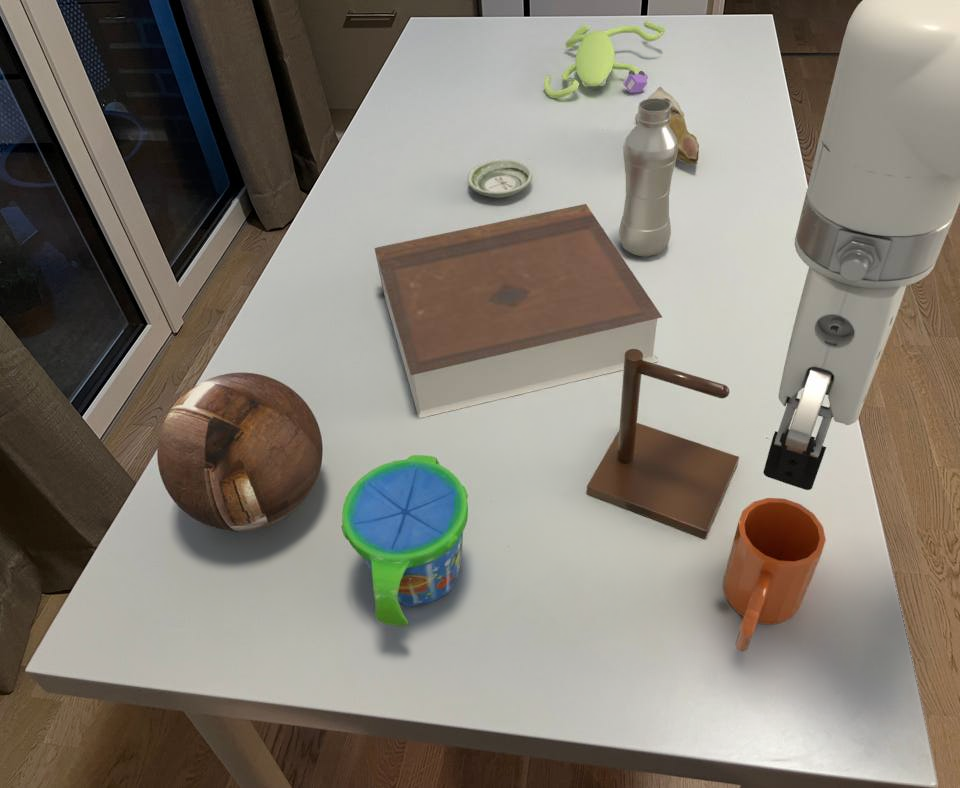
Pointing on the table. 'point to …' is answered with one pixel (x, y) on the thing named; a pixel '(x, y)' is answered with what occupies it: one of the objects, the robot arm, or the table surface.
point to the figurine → (601, 59)
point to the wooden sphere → (239, 451)
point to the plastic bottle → (648, 179)
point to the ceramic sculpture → (679, 129)
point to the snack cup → (407, 532)
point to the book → (512, 308)
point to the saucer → (499, 177)
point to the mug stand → (663, 459)
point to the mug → (771, 563)
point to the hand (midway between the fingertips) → (805, 432)
